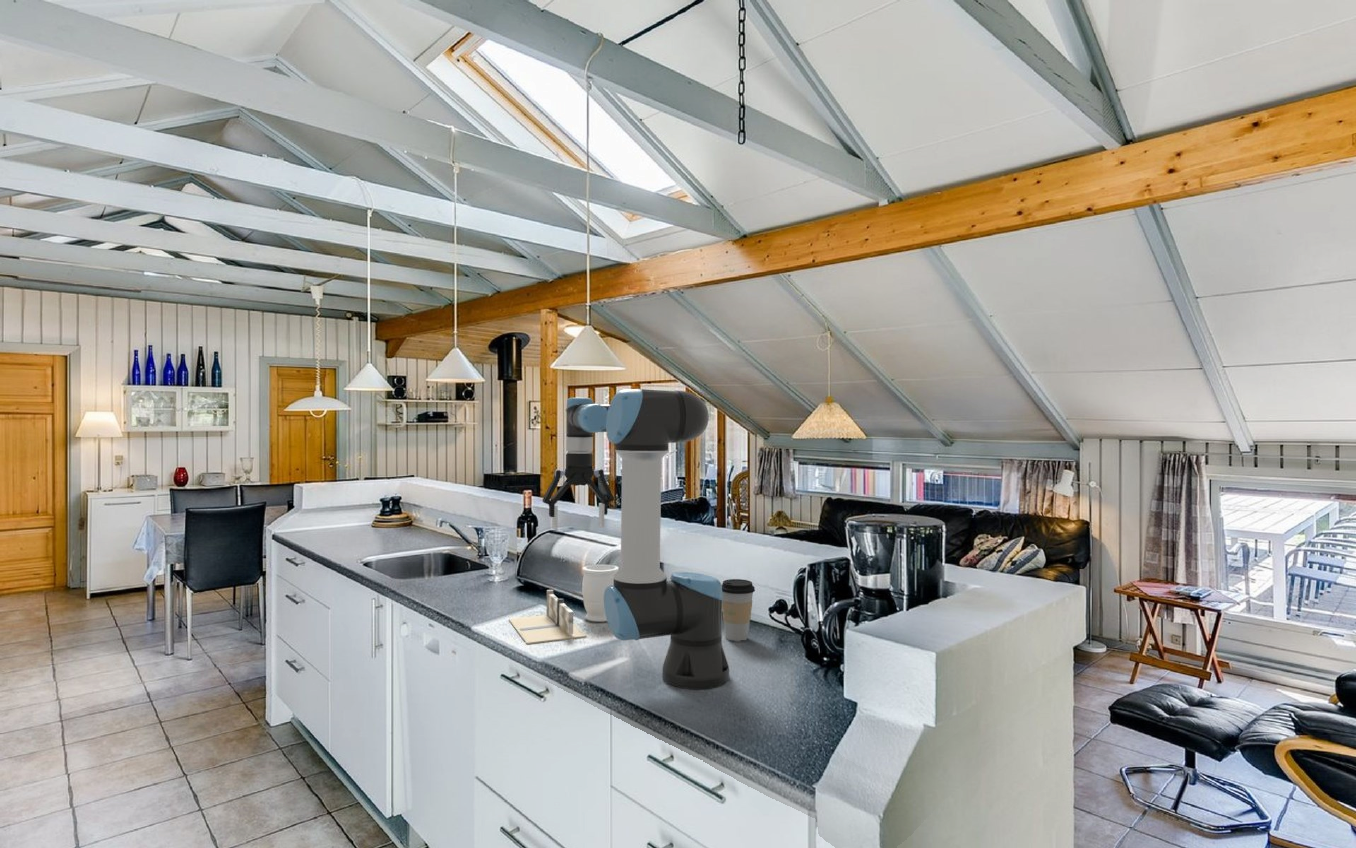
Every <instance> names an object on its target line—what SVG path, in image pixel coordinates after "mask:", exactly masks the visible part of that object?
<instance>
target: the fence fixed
mask: <svg viewBox="0 0 1356 848" xmlns="http://www.w3.org/2000/svg"><path fill="white" fill-rule="evenodd" d="M557 599H559V598H558V597H557V596H556V595H555V593H554V590H553V589H547V590H546V615H549V616H550V617H551V618H552V619H553V620H554V622H555V623H556V626H560V625H559V624H557Z"/></svg>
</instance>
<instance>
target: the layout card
mask: <svg viewBox="0 0 1356 848" xmlns="http://www.w3.org/2000/svg"><path fill="white" fill-rule="evenodd" d="M508 621H509V623H510V624H511V625H512V626H513V628H514V630H515V631H516V632H517V633H518V635H519V636H520V637H521V639H522V640H523V641H524V642H525V643H524V644H526V645H532V644H540V643H541V644H542V643H550V642H558V641H565V640H566V641H567V640H572V639H573V640H575V639H581V638H582V639H583V638H587V634H585V633H584V632H583V631H582V630H581V629H580V628H579V627H578V626H576V624H575V623H574V622H573V634H571V635H569V634H568V633H567V632H566V631H565V630H564V629H563V628H562V627H561V626H556V623H555V622H554V620H553V619H552V618H551V617H550V616H549V615H547V614H544V615H543V614H541V615H532V616H524V617H523V616H522V617H515V618H514V617H513V618H508Z"/></svg>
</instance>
